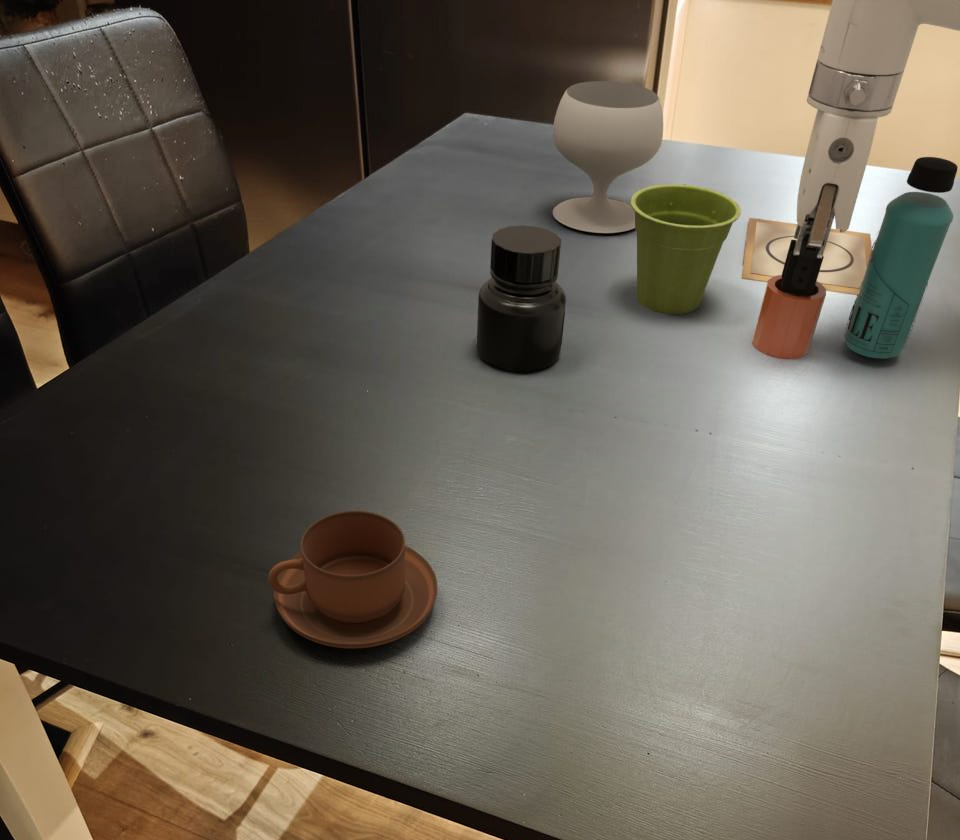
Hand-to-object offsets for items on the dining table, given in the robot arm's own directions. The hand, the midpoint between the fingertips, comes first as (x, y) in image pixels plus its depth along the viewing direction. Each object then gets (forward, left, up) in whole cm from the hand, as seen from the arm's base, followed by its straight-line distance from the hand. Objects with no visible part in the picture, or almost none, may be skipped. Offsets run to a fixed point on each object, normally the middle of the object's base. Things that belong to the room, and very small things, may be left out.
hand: (796, 285), depth 97 cm
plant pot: (+13, -7, -7) cm, 16 cm away
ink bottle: (+27, +10, -7) cm, 30 cm away
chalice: (+25, -30, -7) cm, 40 cm away
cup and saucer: (+30, +52, -7) cm, 60 cm away
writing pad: (-3, -26, -7) cm, 27 cm away
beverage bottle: (-10, -1, -7) cm, 12 cm away
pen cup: (0, 0, -7) cm, 7 cm away
